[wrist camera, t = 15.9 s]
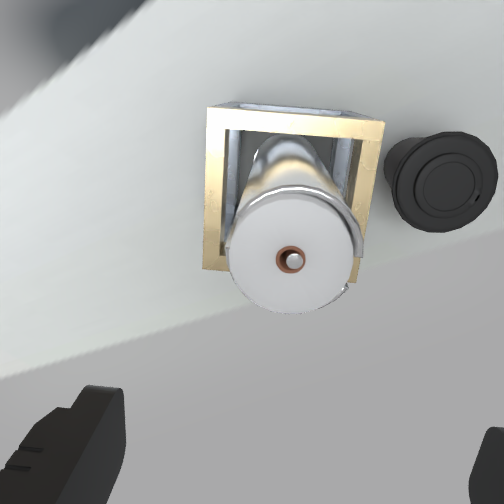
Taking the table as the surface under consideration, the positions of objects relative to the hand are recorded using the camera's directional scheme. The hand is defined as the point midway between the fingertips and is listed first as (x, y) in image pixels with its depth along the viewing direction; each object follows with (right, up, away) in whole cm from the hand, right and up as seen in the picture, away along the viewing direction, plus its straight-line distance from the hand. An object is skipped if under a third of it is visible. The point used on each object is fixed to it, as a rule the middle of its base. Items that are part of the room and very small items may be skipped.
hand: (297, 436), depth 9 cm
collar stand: (+2, +13, +33) cm, 35 cm away
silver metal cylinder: (+2, +13, +33) cm, 35 cm away
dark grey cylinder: (+15, +13, +32) cm, 37 cm away
